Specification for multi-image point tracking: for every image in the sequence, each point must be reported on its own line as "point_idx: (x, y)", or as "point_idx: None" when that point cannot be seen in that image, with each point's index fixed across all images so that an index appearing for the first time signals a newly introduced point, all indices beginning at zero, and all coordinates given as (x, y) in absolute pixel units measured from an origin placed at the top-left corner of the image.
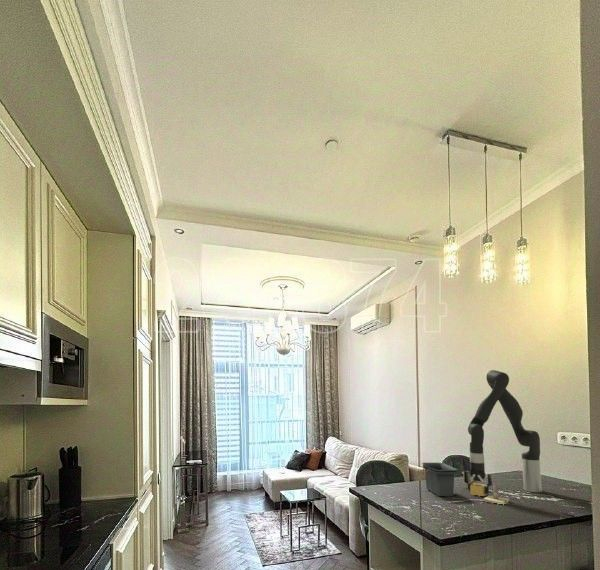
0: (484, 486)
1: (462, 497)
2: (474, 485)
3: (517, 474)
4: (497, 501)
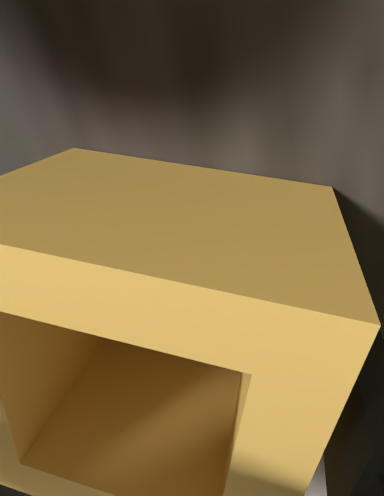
0: (310, 459)
1: None
2: (61, 484)
3: None
4: None
